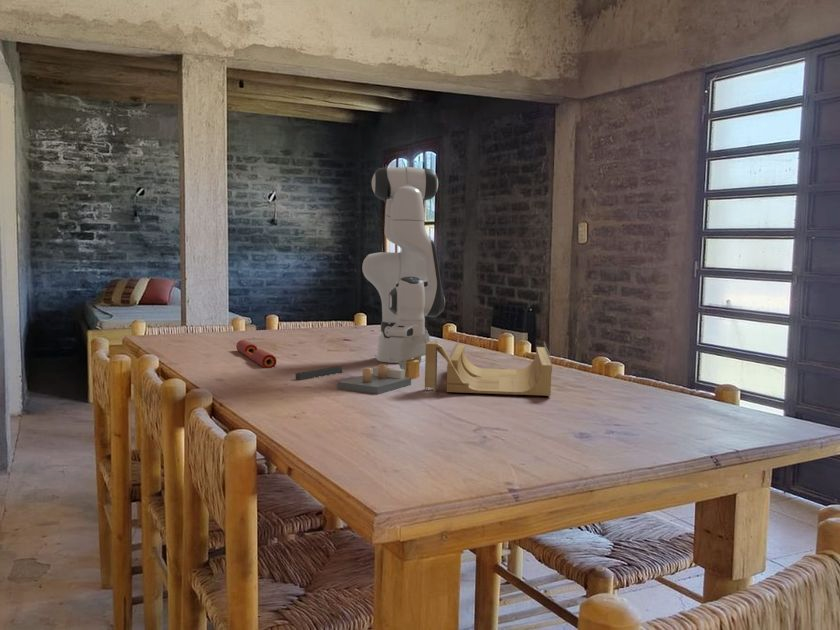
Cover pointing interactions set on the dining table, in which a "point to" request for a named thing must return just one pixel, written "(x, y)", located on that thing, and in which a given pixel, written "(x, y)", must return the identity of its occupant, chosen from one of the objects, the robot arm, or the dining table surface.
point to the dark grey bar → (318, 373)
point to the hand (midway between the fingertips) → (409, 372)
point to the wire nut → (412, 368)
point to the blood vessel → (256, 354)
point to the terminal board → (376, 380)
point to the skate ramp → (488, 373)
